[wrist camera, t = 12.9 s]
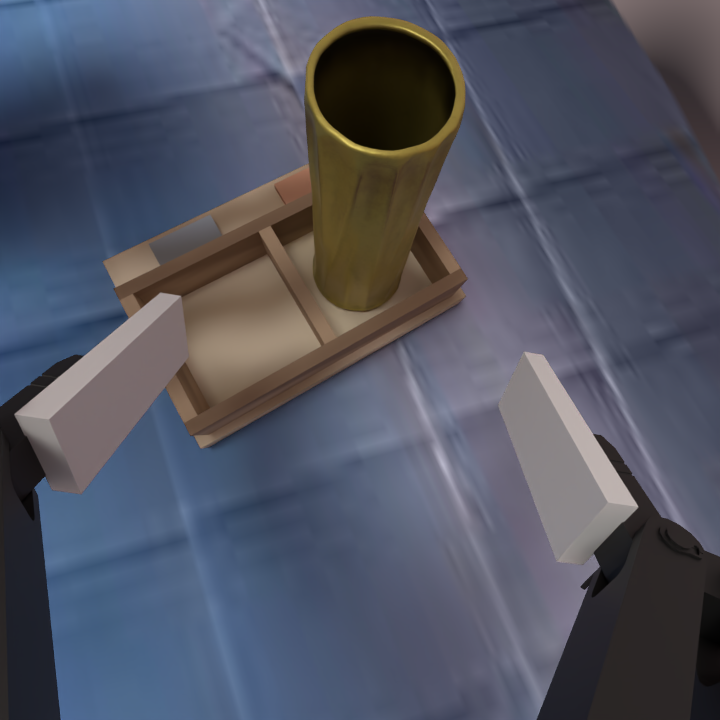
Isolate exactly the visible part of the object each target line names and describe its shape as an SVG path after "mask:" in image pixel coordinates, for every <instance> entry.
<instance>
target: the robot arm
mask: <svg viewBox="0 0 720 720" xmlns="http://www.w3.org/2000/svg"><path fill="white" fill-rule="evenodd" d="M188 357H189V353H188V345H187V337H186V329H185V322H184V314H183V306H182V298H181V296H178V295H172V294H166V293H159V294H158V295H157V296H156V297H155V298H153V299H152V300H151V301H150V302H149V303H147V304H146V305H145V306H144V307H143V308H141V309H140V310H139V311H138V312H137V313H135V314H134V315H133V316H132V317H131V318H129V319H128V320H127V321H126V322H125V323H123V324H122V325H121V326H120V327H119V328H117V329H116V330H115V331H114V332H113V333H111V334H110V335H109V336H108V337H107V338H105V339H104V340H103V341H102V342H100V343H99V344H98V345H97V346H96V347H94V348H93V349H92V350H91V351H90V352H88V353H87V354H86V355H85V356H81V355H73V356H71V357H69V358H66V359H64V360H62V361H60V362H57V363H56V364H54V365H53V366H52V367H51V368H49V369H48V370H47V371H45V372H44V373H43V374H42V376H39V377H38V378H37V379H35V380H34V381H33V382H31V385H30V386H29V385H28V386H26V387H25V388H24V389H23V390H21V391H20V392H19V393H17V394H16V395H15V396H14V397H12V398H11V399H10V400H8V401H7V402H6V403H5V404H3V405H2V406H1V407H0V720H61V719H60V709H59V699H58V689H57V679H56V670H55V660H54V650H53V640H52V630H51V620H50V610H49V600H48V590H47V580H46V570H45V560H44V551H43V541H42V531H41V521H40V511H39V501H38V495H37V493H36V491H35V489H34V487H35V486H36V485H37V484H38V483H39V482H40V481H41V480H42V479H43V478H44V477H46V479H47V481H48V483H49V485H50V487H51V489H52V490H55V491H62V492H69V493H76V494H82V493H83V491H84V490H85V489H86V488H87V486H88V485H89V484H90V483H91V481H92V480H93V479H94V477H95V476H96V475H97V474H98V472H99V471H100V470H101V468H102V467H103V466H104V465H105V463H106V462H107V461H108V459H109V458H110V457H111V456H112V454H113V453H114V452H115V451H116V449H117V448H118V447H119V445H120V444H121V443H122V442H123V440H124V439H125V438H126V436H127V435H128V434H129V433H130V431H131V430H132V429H133V428H134V426H135V425H136V424H137V422H138V421H139V420H140V419H141V417H142V416H143V415H144V413H145V412H146V411H147V410H148V408H149V407H150V406H151V405H152V403H153V402H154V401H155V399H156V398H157V397H158V396H159V394H160V393H161V392H162V390H163V389H164V388H165V387H166V385H167V384H168V383H169V382H170V380H171V379H172V378H173V376H174V375H175V374H176V373H177V371H178V370H179V369H180V367H181V366H182V365H183V364H184V362H185V361H186V360H187V359H188ZM498 406H499V409H500V412H501V414H502V417H503V420H504V422H505V425H506V428H507V430H508V433H509V436H510V438H511V441H512V444H513V446H514V449H515V452H516V454H517V457H518V460H519V462H520V465H521V468H522V470H523V473H524V476H525V478H526V481H527V484H528V486H529V489H530V492H531V494H532V497H533V500H534V502H535V505H536V508H537V511H538V513H539V516H540V519H541V521H542V524H543V527H544V529H545V532H546V535H547V537H548V540H549V543H550V545H551V548H552V551H553V553H554V556H555V559H556V561H557V562H564V563H571V564H578V565H583V564H584V563H585V562H586V561H587V560H588V559H589V558H590V557H591V556H592V555H593V554H595V556H596V559H597V561H598V563H599V565H600V567H599V568H598V569H597V570H596V571H595V572H594V573H593V574H592V575H591V576H590V577H589V578H588V579H587V580H586V581H585V582H584V583H583V584H582V586H581V588H582V589H584V590H585V589H586V588H587V587H588V586H589V587H588V590H587V592H586V595H585V598H584V600H583V603H582V605H581V608H580V610H579V613H578V615H577V618H576V621H575V623H574V626H573V628H572V631H571V633H570V636H569V638H568V641H567V644H566V646H565V649H564V651H563V654H562V656H561V659H560V661H559V664H558V667H557V669H556V672H555V674H554V677H553V679H552V682H551V684H550V687H549V690H548V692H547V695H546V697H545V700H544V702H543V705H542V707H541V710H540V713H539V715H538V718H537V720H720V557H719V556H717V555H714V554H712V553H709V552H707V551H704V549H703V547H702V546H701V544H700V543H699V542H698V541H697V539H696V538H695V537H694V536H693V535H692V534H691V533H690V532H688V531H687V530H686V529H684V528H683V527H681V526H680V525H679V524H677V523H675V522H673V521H671V520H669V519H666V518H662V517H661V516H660V515H659V513H658V512H657V510H656V509H655V507H654V506H653V504H652V503H651V501H650V500H649V498H648V497H647V495H646V494H645V492H644V491H643V489H642V488H641V486H640V485H639V483H638V482H637V480H636V479H635V477H634V476H632V473H631V471H630V470H629V468H628V467H627V465H625V464H624V461H623V459H622V458H621V456H620V455H619V453H618V452H617V450H616V449H615V448H614V447H613V446H612V445H611V444H610V443H609V442H608V441H607V440H606V439H605V438H604V437H602V436H601V435H596V434H592V432H591V430H590V429H589V427H588V426H587V424H586V423H585V421H584V419H583V418H582V416H581V415H580V413H579V411H578V410H577V408H576V407H575V405H574V403H573V402H572V400H571V399H570V397H569V395H568V394H567V392H566V391H565V389H564V388H563V386H562V384H561V383H560V381H559V380H558V378H557V376H556V375H555V373H554V372H553V370H552V368H551V367H550V365H549V364H548V362H547V360H546V359H545V357H544V356H543V355H540V354H534V353H528V352H523V355H522V357H521V359H520V361H519V363H518V365H517V367H516V369H515V371H514V373H513V375H512V377H511V379H510V382H509V384H508V386H507V388H506V390H505V392H504V394H503V396H502V398H501V400H500V402H499V404H498Z"/></svg>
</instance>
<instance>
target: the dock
mask: <svg viewBox="0 0 720 720" xmlns="http://www.w3.org/2000/svg"><path fill="white" fill-rule="evenodd" d="M313 257H314V235H313V210H312V189H311V181H310V172H309V164H306V165H304V166H302V167H300V168H298V169H296V170H294V171H292V172H290V173H288V174H285V175H283V176H281V177H279V178H277V179H275V180H273V181H271V182H269V183H267V184H264V185H262V186H260V187H258V188H256V189H254V190H252V191H250V192H248V193H245V194H243V195H241V196H239V197H237V198H235V199H233V200H231V201H229V202H227V203H224V204H222V205H220V206H218V207H216V208H214V209H212V210H210V211H208V212H205V213H203V214H201V215H199V216H197V217H195V218H193V219H191V220H189V221H187V222H184V223H182V224H180V225H178V226H176V227H174V228H172V229H170V230H168V231H166V232H163V233H161V234H159V235H157V236H155V237H153V238H151V239H149V240H147V241H144V242H142V243H140V244H138V245H136V246H134V247H132V248H130V249H128V250H126V251H123V252H121V253H119V254H117V255H115V256H113V257H111V258H109V259H107V260H104V261H102V262H103V264H104V266H105V267H106V269H107V271H108V273H109V275H110V277H111V279H112V281H113V283H114V285H115V286H116V288H114V291H115V293H116V294H117V296H118V298H119V300H120V302H121V304H122V306H123V308H124V310H125V312H126V314H127V315H128V317H129V318H131V317H132V316H133V315H134V314H135V313H137V312H138V311H139V310H140V309H141V308H143V307H144V306H145V305H146V304H147V303H149V302H150V301H151V300H152V299H153V298H155V297H156V296H157V295H158V294H159V293H166V294H172V295H178V296H181V298H182V306H183V314H184V322H185V329H186V337H187V345H188V353H189V357H188V359H187V360H186V361H185V362H184V364H183V365H182V366H181V367H180V369H179V370H178V371H177V373H176V374H175V375H174V376H173V378H172V379H171V380H170V382H169V383H168V384H167V385H166V387H165V388H166V390H167V392H168V394H169V396H170V398H171V399H172V401H173V403H174V405H175V407H176V409H177V411H178V413H179V415H180V417H181V419H182V420H183V422H184V424H185V426H186V428H187V430H188V432H189V434H190V436H194V437H195V439H196V441H197V443H198V445H199V447H200V448H201V449H202V448H208V447H210V446H212V445H214V444H215V443H217V442H219V441H220V440H222V439H224V438H226V437H227V436H229V435H231V434H233V433H234V432H236V431H238V430H240V429H241V428H243V427H245V426H247V425H248V424H250V423H252V422H253V421H255V420H257V419H259V418H260V417H262V416H264V415H266V414H267V413H269V412H271V411H273V410H274V409H276V408H278V407H280V406H281V405H283V404H285V403H286V402H288V401H290V400H292V399H293V398H295V397H297V396H299V395H300V394H302V393H304V392H306V391H307V390H309V389H311V388H313V387H314V386H316V385H318V384H319V383H321V382H323V381H325V380H326V379H328V378H330V377H332V376H333V375H335V374H337V373H339V372H340V371H342V370H344V369H345V368H347V367H349V366H351V365H352V364H354V363H356V362H358V361H359V360H361V359H363V358H365V357H366V356H368V355H370V354H372V353H373V352H375V351H377V350H378V349H380V348H382V347H384V346H385V345H387V344H389V343H391V342H392V341H394V340H396V339H398V338H399V337H401V336H403V335H405V334H406V333H408V332H410V331H411V330H413V329H415V328H417V327H418V326H420V325H422V324H424V323H425V322H427V321H429V320H431V319H432V318H434V317H436V316H438V315H439V314H441V313H443V312H444V311H446V310H448V309H450V308H451V307H453V306H455V305H457V304H458V303H460V302H461V301H462V300H463V299H464V298H465V297H466V295H465V294H464V292H463V291H462V289H461V288H460V287H461V286H462V285H463V284H464V283H465V281H466V280H467V279H468V278H467V277H466V275H465V274H464V272H463V271H462V269H461V268H460V266H459V265H458V263H457V262H456V260H455V259H454V257H453V256H452V254H451V252H450V251H449V249H448V248H447V246H446V245H445V243H444V242H443V240H442V239H441V237H440V236H439V234H438V233H437V231H436V230H435V228H434V227H433V225H432V224H431V222H430V220H429V219H428V217H427V216H426V214H425V213H424V212H423V215H422V218H421V220H420V223H419V226H418V229H417V232H416V235H415V238H414V240H413V243H412V246H411V249H410V253H409V256H408V259H407V262H406V264H405V267H404V269H403V272H402V276H401V281H400V284H399V287H398V289H397V291H396V292H395V293H394V295H393V296H392V297H391V298H390V299H389V300H388V301H387V302H385V303H384V304H383V305H381V306H379V307H377V308H374V309H371V310H367V311H353V310H347V309H343V308H340V307H338V306H336V305H334V304H333V303H331V302H330V301H329V300H327V299H326V298H325V297H324V296H323V295H322V293H321V292H320V291H319V289H318V287H317V285H316V283H315V281H314V277H313Z"/></svg>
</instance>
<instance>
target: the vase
mask: <svg viewBox="0 0 720 720" xmlns="http://www.w3.org/2000/svg"><path fill="white" fill-rule="evenodd" d="M304 104H305V117H306V133H307V144H308V158H309V172H310V181H311V189H312V210H313V235H314V257H313V277H314V281H315V283H316V285H317V287H318V289H319V291H320V292H321V293H322V295H323V296H324V297H325V298H326V299H327V300H329V301H330V302H331V303H333V304H334V305H336V306H338V307H340V308H343V309H347V310H353V311H367V310H371V309H374V308H377V307H379V306H381V305H383V304H384V303H385V302H387V301H388V300H389V299H390V298H391V297H392V296H393V295H394V293H395V292H396V291H397V289H398V287H399V284H400V281H401V276H402V272H403V269H404V267H405V264H406V262H407V259H408V256H409V253H410V249H411V246H412V243H413V240H414V238H415V235H416V232H417V229H418V226H419V223H420V220H421V218H422V215H423V212H424V210H425V207H426V204H427V202H428V199H429V197H430V195H431V192H432V190H433V188H434V186H435V183H436V181H437V178H438V176H439V173H440V171H441V168H442V166H443V163H444V161H445V159H446V156H447V154H448V152H449V150H450V147H451V145H452V143H453V141H454V139H455V137H456V135H457V132H458V130H459V128H460V124H461V121H462V116H463V112H464V108H465V82H464V78H463V74H462V71H461V69H460V66H459V64H458V62H457V60H456V58H455V56H454V55H453V54H452V52H451V51H450V50H449V48H448V47H447V46H446V45H445V44H444V42H443V41H442V40H440V39H439V38H438V37H436V36H435V35H433V34H432V33H430V32H429V31H427V30H425V29H423V28H421V27H419V26H417V25H415V24H412V23H410V22H407V21H404V20H400V19H394V18H387V17H373V16H370V17H362V18H357V19H353V20H350V21H347V22H345V23H343V24H341V25H339V26H338V27H336V28H334V29H333V30H332V31H331V32H329V33H328V34H327V35H326V36H324V37H323V38H322V39H321V40H320V41H319V42H318V43H317V44H316V46H315V47H314V49H313V51H312V53H311V55H310V57H309V60H308V63H307V66H306V81H305V96H304Z"/></svg>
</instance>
